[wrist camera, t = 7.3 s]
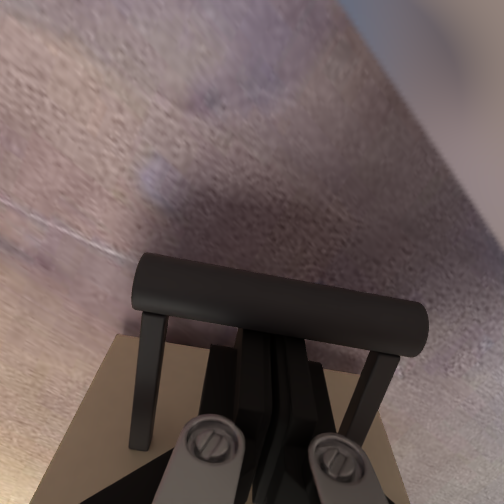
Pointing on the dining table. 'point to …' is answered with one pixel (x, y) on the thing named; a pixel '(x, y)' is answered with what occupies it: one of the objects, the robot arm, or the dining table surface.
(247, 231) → the dining table surface
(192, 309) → the drawer
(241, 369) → the robot arm
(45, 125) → the dining table surface
